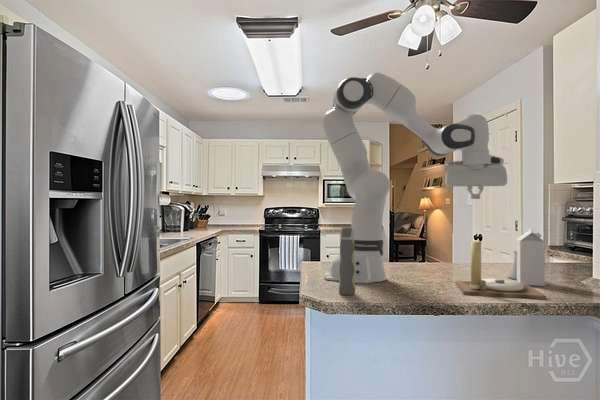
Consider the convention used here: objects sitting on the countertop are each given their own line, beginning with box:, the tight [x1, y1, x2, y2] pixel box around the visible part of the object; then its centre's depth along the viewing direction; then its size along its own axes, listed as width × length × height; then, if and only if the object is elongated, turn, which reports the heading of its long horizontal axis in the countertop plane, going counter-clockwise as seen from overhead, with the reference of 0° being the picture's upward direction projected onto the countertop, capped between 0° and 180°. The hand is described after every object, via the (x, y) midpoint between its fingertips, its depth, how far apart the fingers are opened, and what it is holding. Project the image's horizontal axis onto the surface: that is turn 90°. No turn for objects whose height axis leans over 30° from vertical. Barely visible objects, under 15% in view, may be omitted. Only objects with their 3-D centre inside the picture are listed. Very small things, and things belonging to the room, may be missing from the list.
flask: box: [507, 250, 517, 281], centre depth 137 cm, size 7×7×10 cm
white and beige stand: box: [470, 241, 524, 291], centre depth 117 cm, size 17×13×14 cm
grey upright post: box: [338, 226, 356, 296], centre depth 112 cm, size 5×5×20 cm
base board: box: [454, 280, 547, 300], centre depth 117 cm, size 22×16×4 cm
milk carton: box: [516, 227, 546, 287], centre depth 128 cm, size 7×7×19 cm
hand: (475, 199), depth 134 cm, fingers closed
